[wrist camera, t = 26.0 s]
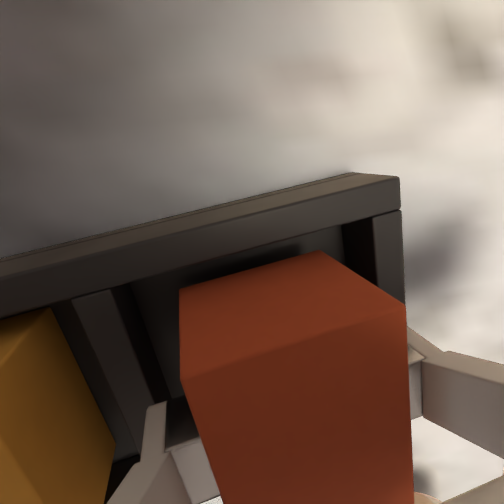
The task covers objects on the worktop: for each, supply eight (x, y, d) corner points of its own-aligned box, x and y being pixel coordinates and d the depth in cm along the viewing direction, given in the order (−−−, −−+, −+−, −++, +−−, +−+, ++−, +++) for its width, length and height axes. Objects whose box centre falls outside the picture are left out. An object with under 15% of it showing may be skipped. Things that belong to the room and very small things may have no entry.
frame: (-235, 315, 9) (-396, 377, 6) (353, 171, 11) (400, 175, 9) (-55, 530, 12) (-116, 628, 9) (372, 377, 14) (411, 421, 12)
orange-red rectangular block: (178, 287, 9) (178, 378, 5) (319, 248, 10) (407, 304, 6) (225, 437, 11) (249, 578, 7) (340, 395, 12) (415, 506, 8)
